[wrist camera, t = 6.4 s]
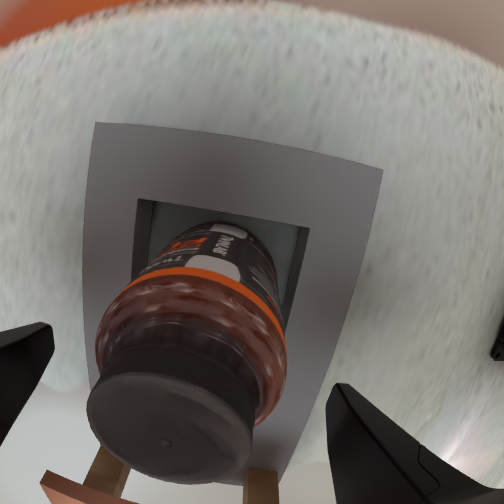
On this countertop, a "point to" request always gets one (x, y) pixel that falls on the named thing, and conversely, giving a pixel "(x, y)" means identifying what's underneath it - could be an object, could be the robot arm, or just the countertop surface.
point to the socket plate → (241, 203)
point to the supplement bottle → (191, 358)
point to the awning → (115, 476)
